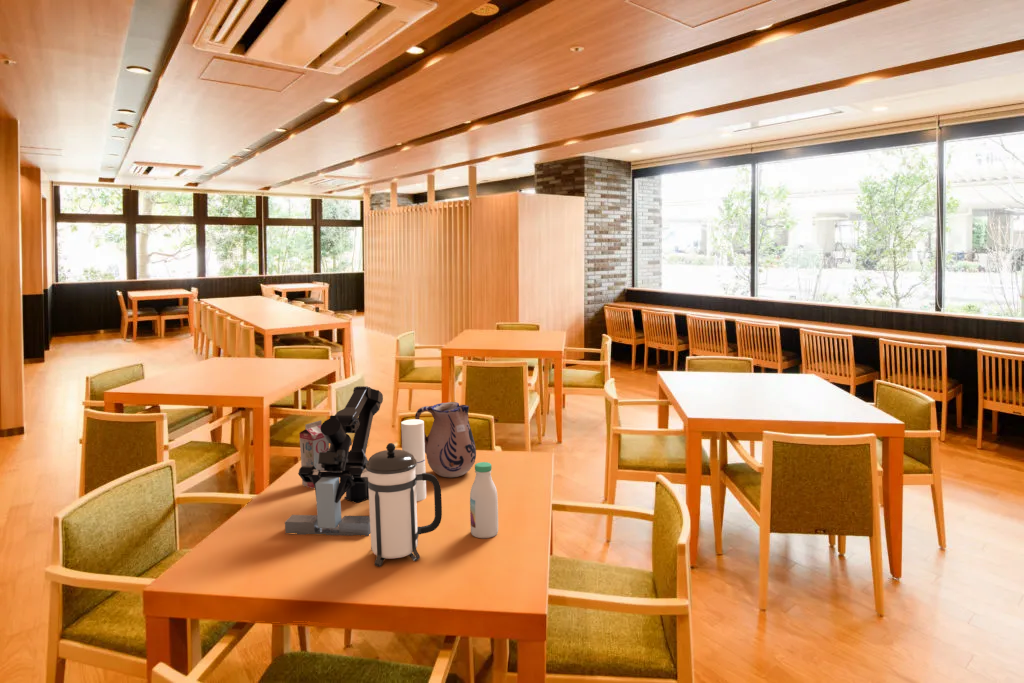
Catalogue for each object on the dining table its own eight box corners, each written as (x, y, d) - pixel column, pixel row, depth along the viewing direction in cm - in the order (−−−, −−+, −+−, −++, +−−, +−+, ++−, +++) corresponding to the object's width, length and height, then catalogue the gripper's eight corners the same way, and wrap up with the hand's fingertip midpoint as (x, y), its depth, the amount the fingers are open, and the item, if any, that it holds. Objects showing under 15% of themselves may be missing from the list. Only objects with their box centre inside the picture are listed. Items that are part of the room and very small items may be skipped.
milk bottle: (502, 529, 181) (501, 461, 178) (492, 540, 173) (491, 469, 171) (477, 525, 183) (475, 458, 180) (466, 537, 176) (464, 467, 173)
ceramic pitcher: (479, 480, 221) (477, 410, 217) (417, 484, 217) (415, 413, 214) (473, 464, 238) (472, 399, 235) (416, 468, 234) (414, 401, 231)
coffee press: (400, 575, 155) (395, 456, 151) (353, 559, 163) (347, 446, 160) (444, 547, 170) (441, 438, 166) (399, 534, 178) (395, 430, 174)
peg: (324, 520, 184) (322, 477, 182) (341, 520, 183) (339, 477, 181) (318, 527, 179) (315, 483, 177) (335, 528, 178) (332, 483, 176)
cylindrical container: (399, 499, 204) (396, 423, 201) (411, 492, 210) (408, 418, 207) (419, 502, 201) (416, 425, 198) (430, 494, 208) (427, 420, 205)
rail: (293, 526, 184) (292, 514, 184) (373, 528, 182) (373, 516, 182) (285, 534, 179) (284, 521, 179) (368, 535, 178) (368, 523, 177)
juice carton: (331, 483, 220) (327, 421, 217) (315, 489, 214) (312, 425, 212) (318, 480, 224) (314, 418, 221) (302, 485, 218) (298, 423, 215)
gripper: (298, 438, 182) (284, 489, 173) (362, 439, 181) (351, 490, 171) (311, 456, 191) (298, 506, 182) (371, 457, 190) (362, 507, 180)
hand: (326, 502), depth 179 cm, fingers closed on peg, 5 cm apart
